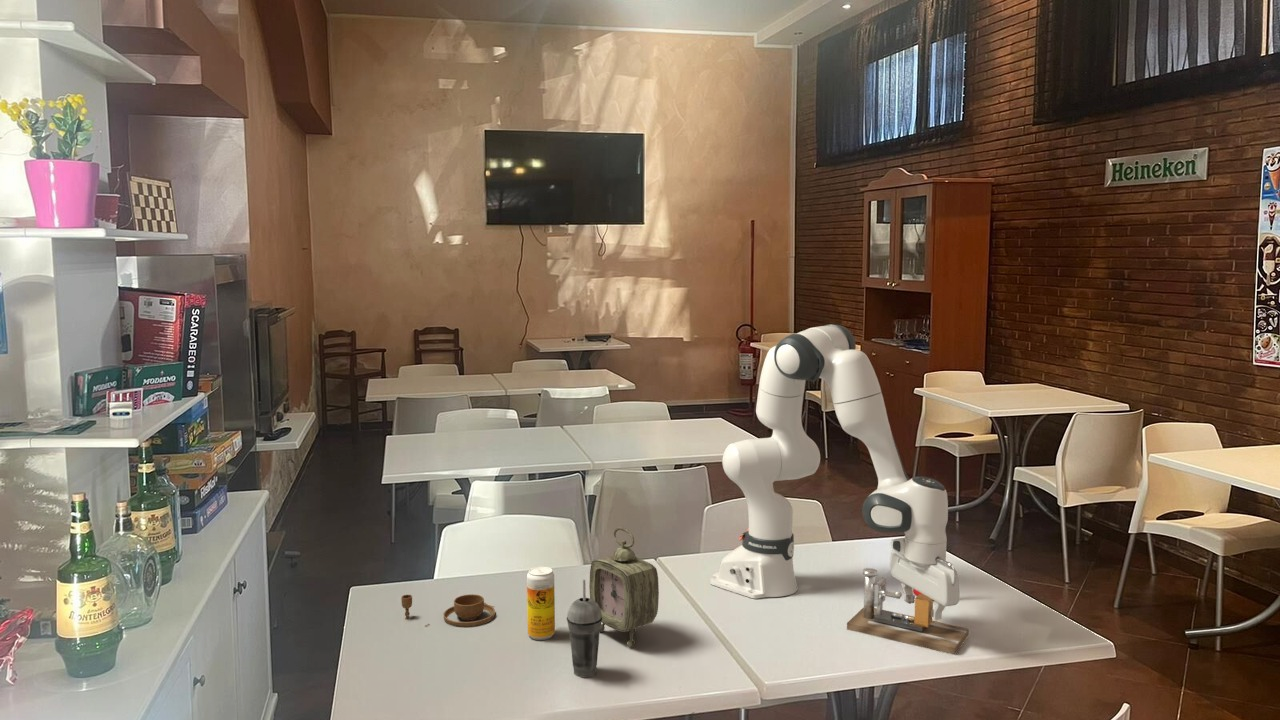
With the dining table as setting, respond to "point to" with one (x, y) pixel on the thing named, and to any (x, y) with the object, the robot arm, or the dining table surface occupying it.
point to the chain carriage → (914, 623)
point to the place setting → (460, 609)
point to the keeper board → (913, 633)
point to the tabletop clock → (624, 589)
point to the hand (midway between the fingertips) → (922, 610)
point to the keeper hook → (873, 592)
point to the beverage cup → (584, 634)
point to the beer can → (540, 603)
